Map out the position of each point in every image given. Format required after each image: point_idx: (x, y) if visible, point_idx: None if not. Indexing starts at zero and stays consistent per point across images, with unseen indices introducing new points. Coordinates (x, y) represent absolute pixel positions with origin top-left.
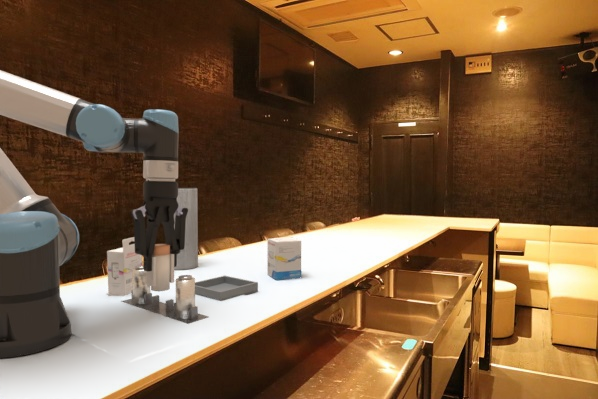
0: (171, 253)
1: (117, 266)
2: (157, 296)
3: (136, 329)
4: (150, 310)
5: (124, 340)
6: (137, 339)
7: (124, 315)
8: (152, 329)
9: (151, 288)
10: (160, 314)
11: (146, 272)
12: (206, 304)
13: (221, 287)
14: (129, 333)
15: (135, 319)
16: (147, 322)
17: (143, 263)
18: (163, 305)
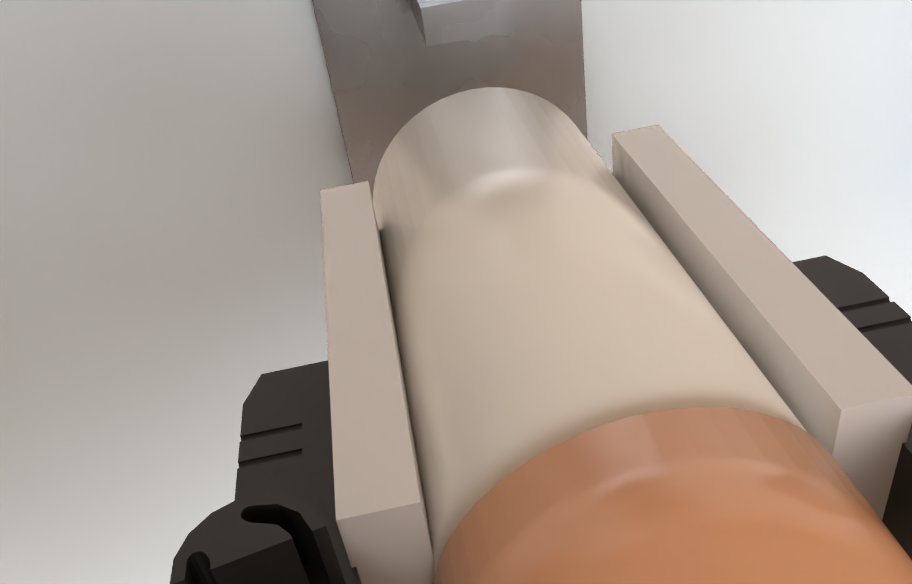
0: (888, 517)
1: None
2: (485, 32)
3: (115, 413)
4: (346, 102)
5: (5, 534)
6: (84, 552)
7: (88, 17)
8: (215, 461)
9: (376, 195)
10: None
11: (325, 284)
12: (826, 188)
13: None
14: (54, 453)
15: (162, 204)
16: (229, 326)
17: (238, 471)
18: (524, 18)
